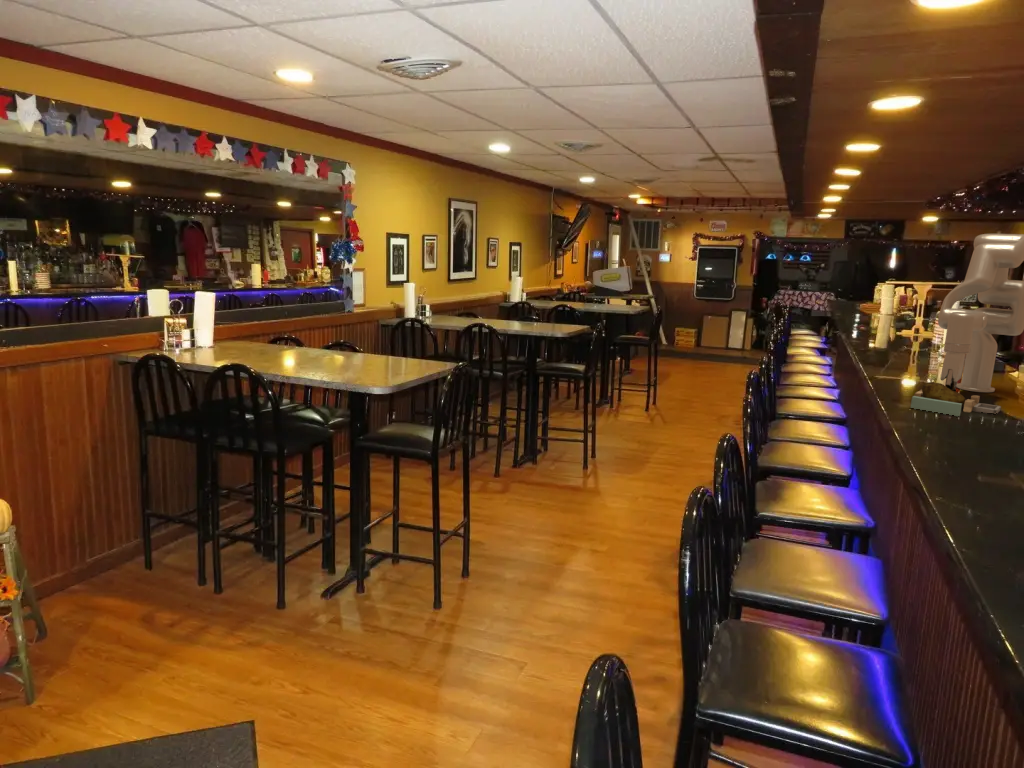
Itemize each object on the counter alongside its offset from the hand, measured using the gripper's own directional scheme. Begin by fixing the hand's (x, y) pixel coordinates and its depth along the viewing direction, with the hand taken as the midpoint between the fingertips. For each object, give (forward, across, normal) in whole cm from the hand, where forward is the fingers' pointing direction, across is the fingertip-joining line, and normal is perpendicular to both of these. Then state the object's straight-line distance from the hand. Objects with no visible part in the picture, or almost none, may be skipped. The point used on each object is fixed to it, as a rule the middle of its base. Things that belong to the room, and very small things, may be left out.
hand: (948, 399), depth 242 cm
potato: (+1, +6, -1) cm, 7 cm away
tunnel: (+1, +3, 0) cm, 3 cm away
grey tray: (+1, +2, +12) cm, 12 cm away
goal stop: (+1, +19, 0) cm, 19 cm away
